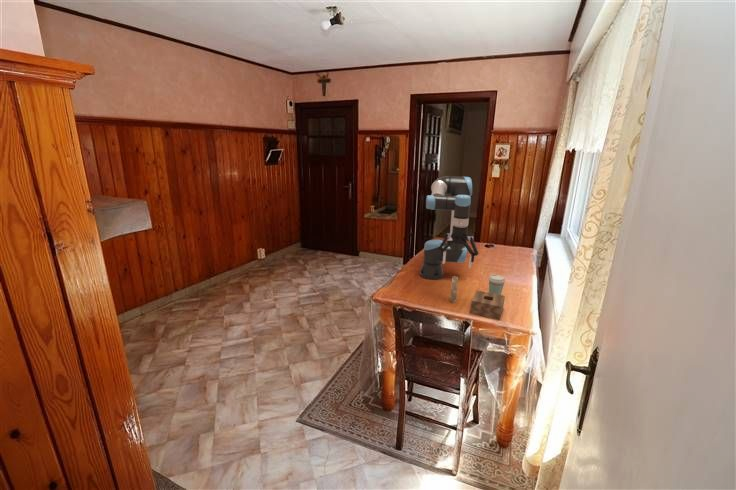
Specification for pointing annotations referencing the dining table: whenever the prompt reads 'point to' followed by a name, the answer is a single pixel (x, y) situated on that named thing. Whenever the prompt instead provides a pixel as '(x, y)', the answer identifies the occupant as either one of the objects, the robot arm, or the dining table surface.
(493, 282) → the coffee cup
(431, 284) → the dining table surface
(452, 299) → the dowel
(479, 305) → the bore block
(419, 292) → the dining table surface
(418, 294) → the dining table surface
